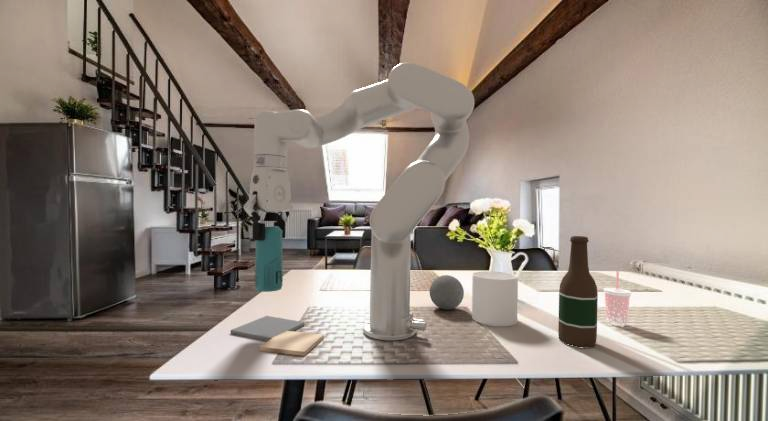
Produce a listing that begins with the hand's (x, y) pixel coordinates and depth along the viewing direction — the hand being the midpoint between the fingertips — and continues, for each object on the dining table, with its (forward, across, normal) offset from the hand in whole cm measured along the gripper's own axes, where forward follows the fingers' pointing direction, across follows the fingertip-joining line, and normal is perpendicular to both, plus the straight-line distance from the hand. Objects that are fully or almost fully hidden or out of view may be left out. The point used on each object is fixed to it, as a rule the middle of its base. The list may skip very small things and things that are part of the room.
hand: (269, 238), depth 86 cm
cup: (+22, +32, -49) cm, 63 cm away
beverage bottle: (+14, 0, 0) cm, 14 cm away
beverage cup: (+22, +42, -79) cm, 92 cm away
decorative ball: (+22, +36, -35) cm, 55 cm away
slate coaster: (+22, 0, 0) cm, 22 cm away
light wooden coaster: (+22, -5, -11) cm, 25 cm away
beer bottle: (+22, +23, -68) cm, 75 cm away
